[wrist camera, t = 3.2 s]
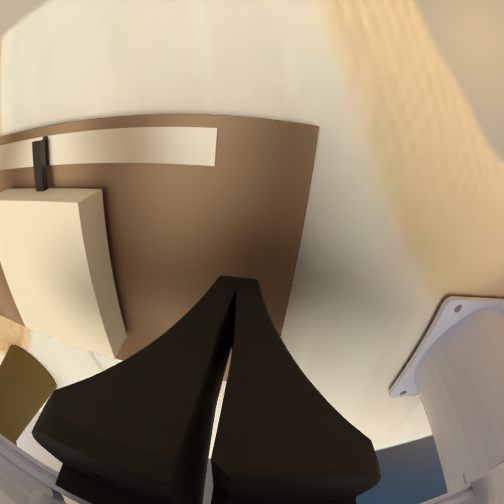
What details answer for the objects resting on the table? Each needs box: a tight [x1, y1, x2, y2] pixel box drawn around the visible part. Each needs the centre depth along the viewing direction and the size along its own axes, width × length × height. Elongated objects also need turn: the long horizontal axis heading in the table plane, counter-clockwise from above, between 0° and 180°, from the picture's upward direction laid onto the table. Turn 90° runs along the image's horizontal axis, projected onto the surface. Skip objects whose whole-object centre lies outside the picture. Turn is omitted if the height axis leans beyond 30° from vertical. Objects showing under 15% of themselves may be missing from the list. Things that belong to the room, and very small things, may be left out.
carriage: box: [0, 139, 127, 359], centre depth 9 cm, size 6×9×2 cm, turn 174°
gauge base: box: [0, 114, 319, 381], centre depth 11 cm, size 26×12×1 cm, turn 84°
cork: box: [0, 345, 56, 446], centre depth 13 cm, size 6×6×11 cm
